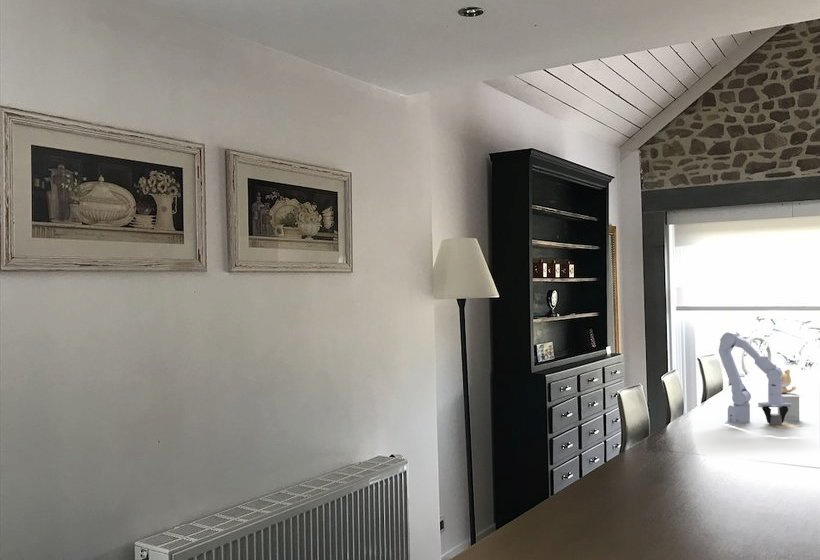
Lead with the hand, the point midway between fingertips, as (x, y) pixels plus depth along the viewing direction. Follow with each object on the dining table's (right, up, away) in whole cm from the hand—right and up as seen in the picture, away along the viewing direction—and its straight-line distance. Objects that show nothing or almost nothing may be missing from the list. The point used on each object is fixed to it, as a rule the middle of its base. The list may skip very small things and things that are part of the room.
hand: (775, 422), depth 357 cm
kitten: (+53, -2, +104) cm, 116 cm away
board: (+2, -2, -2) cm, 4 cm away
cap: (0, -1, 0) cm, 1 cm away
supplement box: (+13, -2, +13) cm, 19 cm away
